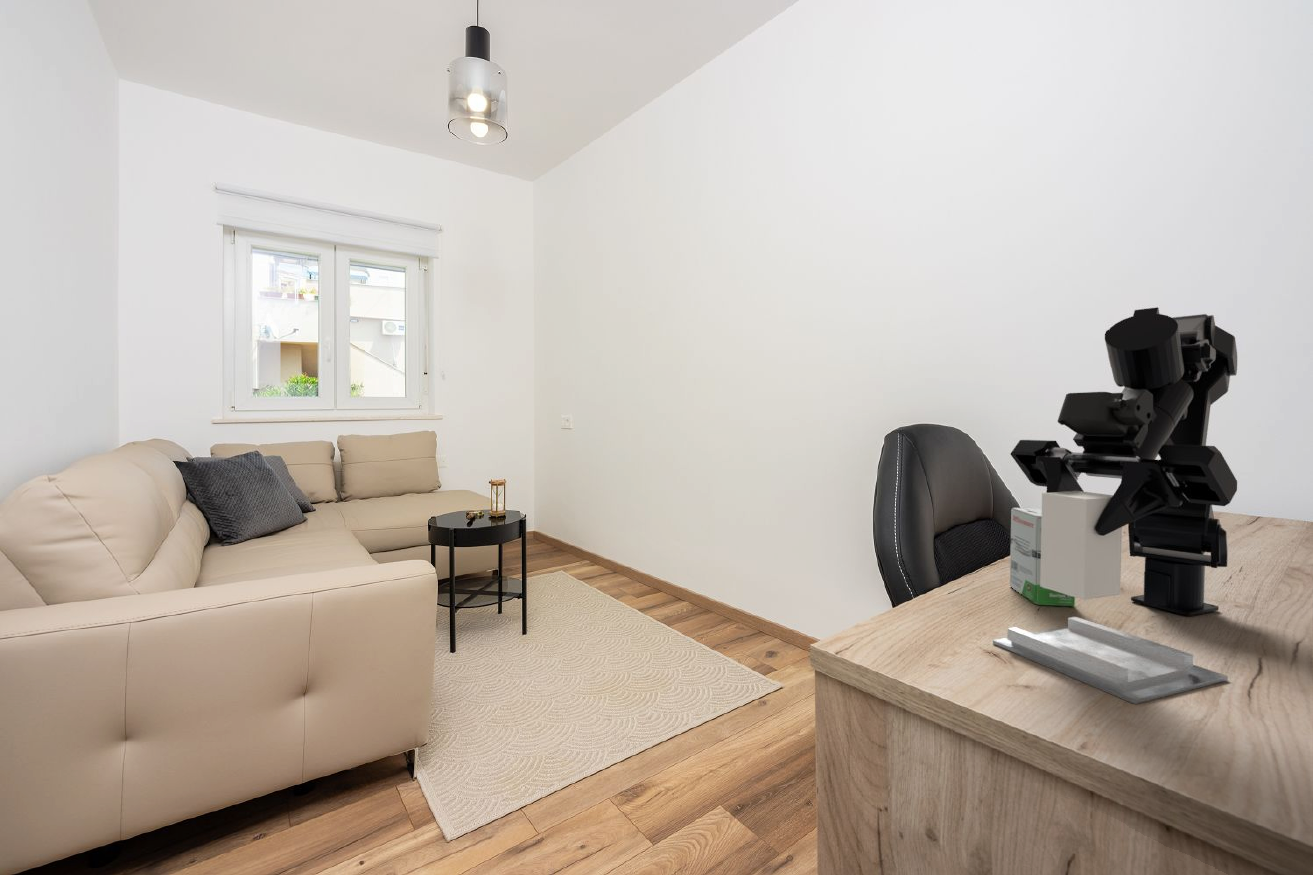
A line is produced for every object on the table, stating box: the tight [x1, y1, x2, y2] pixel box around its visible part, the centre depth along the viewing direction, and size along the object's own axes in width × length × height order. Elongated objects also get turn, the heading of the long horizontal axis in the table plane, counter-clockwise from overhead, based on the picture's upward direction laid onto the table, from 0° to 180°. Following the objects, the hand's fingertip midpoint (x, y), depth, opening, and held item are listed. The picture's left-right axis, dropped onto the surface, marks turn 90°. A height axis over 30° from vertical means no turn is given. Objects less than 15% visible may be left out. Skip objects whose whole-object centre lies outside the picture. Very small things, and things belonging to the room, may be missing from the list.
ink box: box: [1009, 507, 1076, 607], centre depth 78 cm, size 9×5×12 cm, turn 168°
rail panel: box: [992, 616, 1229, 705], centre depth 58 cm, size 13×14×2 cm
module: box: [1040, 490, 1123, 601], centre depth 59 cm, size 5×5×10 cm
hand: (1071, 528), depth 58 cm, fingers closed on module, 5 cm apart
